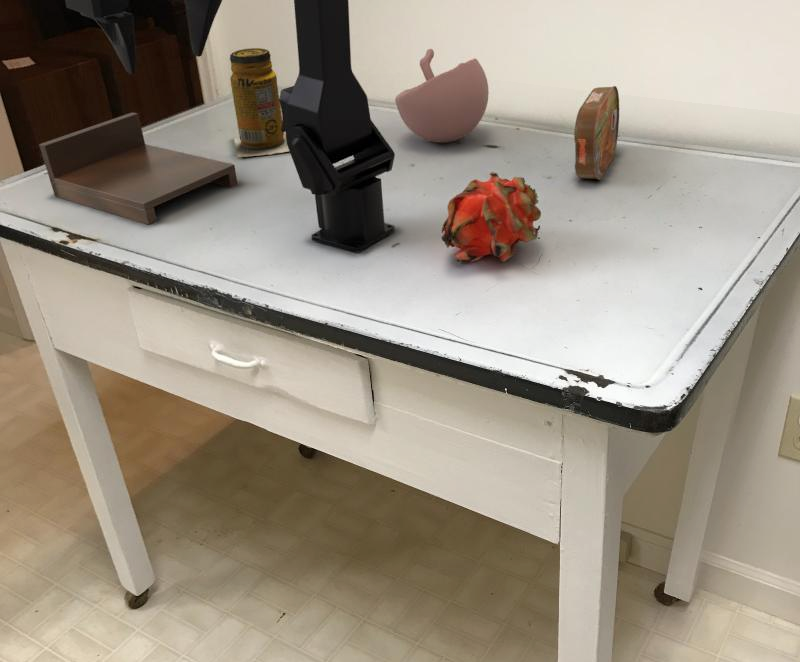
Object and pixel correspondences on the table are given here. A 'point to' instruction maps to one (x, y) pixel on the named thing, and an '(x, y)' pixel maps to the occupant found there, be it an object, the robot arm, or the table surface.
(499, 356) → the table surface
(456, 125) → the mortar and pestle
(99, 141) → the shelf
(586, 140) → the tin
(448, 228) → the dragon fruit
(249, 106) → the condiment
